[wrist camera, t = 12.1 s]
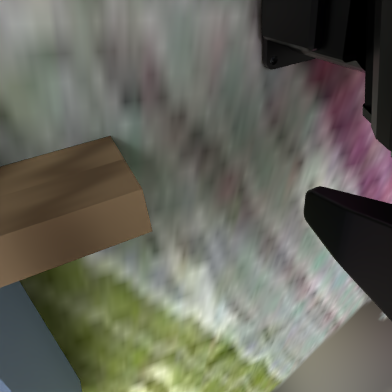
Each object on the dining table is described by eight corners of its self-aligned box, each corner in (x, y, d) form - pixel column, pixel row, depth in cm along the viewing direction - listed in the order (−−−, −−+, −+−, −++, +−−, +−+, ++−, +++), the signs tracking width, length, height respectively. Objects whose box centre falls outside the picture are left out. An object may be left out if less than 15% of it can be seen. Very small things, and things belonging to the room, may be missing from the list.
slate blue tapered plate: (-155, 120, 14) (-278, 236, 8) (-88, 105, 15) (-155, 203, 9) (50, 394, 28) (62, 512, 22) (80, 380, 29) (99, 491, 23)
